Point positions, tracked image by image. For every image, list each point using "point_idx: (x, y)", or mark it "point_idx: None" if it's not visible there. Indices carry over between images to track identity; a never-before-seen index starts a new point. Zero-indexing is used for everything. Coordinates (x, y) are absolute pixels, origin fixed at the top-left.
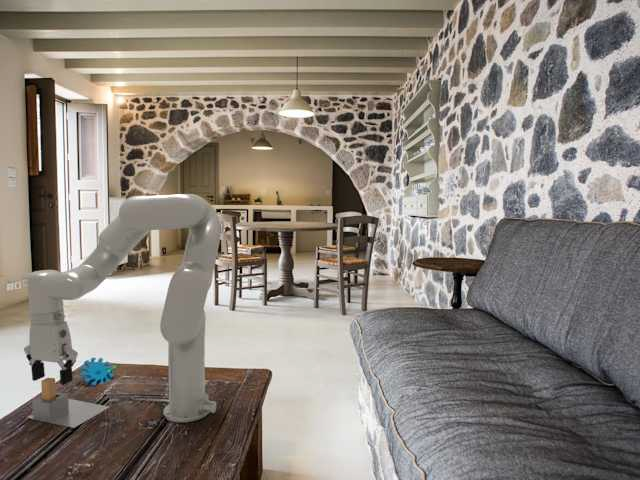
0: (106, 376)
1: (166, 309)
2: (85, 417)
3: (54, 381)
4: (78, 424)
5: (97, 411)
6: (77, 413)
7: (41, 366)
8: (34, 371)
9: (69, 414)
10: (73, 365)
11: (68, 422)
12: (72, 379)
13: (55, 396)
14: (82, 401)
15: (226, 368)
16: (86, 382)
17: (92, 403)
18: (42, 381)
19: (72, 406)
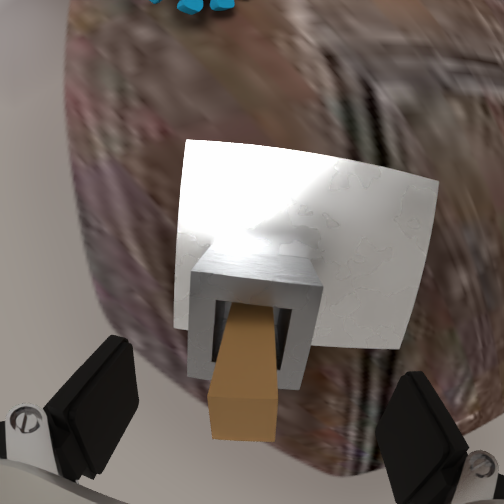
0: None
1: None
2: (401, 282)
3: (276, 388)
4: (403, 330)
5: (418, 228)
6: (353, 260)
7: (92, 418)
8: (113, 448)
9: (325, 275)
10: (490, 454)
11: (362, 328)
12: (421, 373)
13: (273, 328)
14: (294, 150)
15: None
16: (194, 13)
17: (356, 162)
18: (224, 438)
19: (285, 207)
